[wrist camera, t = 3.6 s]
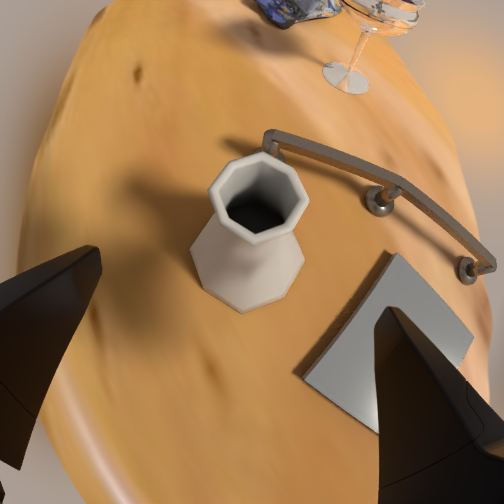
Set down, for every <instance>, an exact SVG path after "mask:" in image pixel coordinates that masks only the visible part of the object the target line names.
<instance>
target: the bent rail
mask: <svg viewBox="0 0 504 504" xmlns="http://www.w3.org/2000/svg"><path fill="white" fill-rule="evenodd" d="M280 148H281V149H284V150H287V151H290V152H293V153H296V154H299V155H303V156H306V157H309V158H311V159H314V160H317V161H320V162H323V163H326V164H329V165H331V166H334V167H337V168H340V169H342V170H345V171H348V172H350V173H353V174H355V175H358V176H360V177H363V178H365V179H368V180H370V181H373V182H375V183H377V184H380V185H382V186H384V187H382V186H373V187H372V188H370V189H369V190H368V191H367V193H366V195H365V204H366V206H367V208H368V210H369V211H370V212H371V213H372V214H373V215H375V216H378V217H384V216H387V215H388V214H389V213H391V212H392V210H393V208H394V200H395V199H396V198H397V197H398V196H400V195H401V196H403V197H404V198H405V199H407V200H408V201H409V202H411V203H412V204H413V205H415V206H416V207H417V208H418V209H420V210H421V211H422V212H424V213H425V214H426V215H427V216H429V217H430V218H431V219H432V220H433V221H435V222H436V223H437V224H438V225H440V226H441V227H442V228H443V229H444V230H445V231H447V232H448V233H449V234H450V235H451V236H452V237H454V238H455V239H456V240H457V241H458V242H459V243H460V244H461V245H463V246H464V247H465V248H466V249H467V250H468V251H469V252H470V253H471V254H472V255H473V256H474V257H475V258H476V259H478V260H479V261H476V262H475V261H474V260H473V259H472V258H470V257H466V258H463V259H461V260H460V262H459V264H458V276H459V279H460V281H461V282H462V283H463V284H464V285H471V284H473V283H474V282H475V281H476V279H477V276H479V275H483V274H487V273H491V272H495V271H496V268H497V263H496V259H495V258H494V256H493V255H491V254H490V252H489V251H488V250H487V249H486V248H484V246H483V245H482V244H481V243H480V242H479V241H478V240H477V239H476V238H475V237H474V236H473V235H472V234H470V233H469V232H468V231H467V230H466V229H465V228H464V227H463V226H462V225H461V224H460V223H459V222H457V221H456V220H455V219H454V218H453V217H452V216H451V215H450V214H448V213H447V212H446V211H445V210H444V209H443V208H441V207H440V206H439V205H438V204H437V203H435V202H434V201H433V200H432V199H431V198H429V197H428V196H427V195H426V194H424V193H423V192H422V191H420V190H419V189H418V188H417V187H415V186H414V185H413V184H411V183H410V182H409V181H407V180H406V179H405V178H402V177H401V176H399V175H397V174H395V173H393V172H390V171H388V170H386V169H384V168H381V167H379V166H377V165H374V164H372V163H370V162H367V161H365V160H362V159H360V158H357V157H355V156H352V155H350V154H347V153H344V152H342V151H339V150H336V149H334V148H331V147H328V146H325V145H323V144H320V143H317V142H314V141H311V140H308V139H305V138H302V137H299V136H296V135H293V134H289V133H286V132H283V131H279V130H276V129H270V130H267V131H266V132H265V133H264V136H263V143H262V147H261V148H258V149H257V150H256V151H255V152H254V153H253V154H255V153H259V152H262V151H264V152H265V153H267V154H269V155H271V156H273V157H274V158H276V159H278V160H280V161H282V162H283V163H285V160H284V156H283V154H282V153H281V152H280V151H279V150H280Z"/></svg>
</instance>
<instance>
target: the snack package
mask: <svg viewBox="0 0 504 504" xmlns="http://www.w3.org/2000/svg"><path fill="white" fill-rule="evenodd" d="M254 1H256V2H257V3H258V4H259V5H260V6H261V8H262V9H263V11H264V12H265V14H266V16H267V17H268V20H269V21H271V22H272V23H274V24H276V25H278V26H279V27H280V28H282V29H287V28H289V27H290V26H293V24H295V23H297V22H302V21H305V20H309V19H312V18H320V17H332V16H324V15H322V14H321V15H318V14H319V13H323V12H329V13H330V12H331V13H334V15H333V16H335V15H337V14H339V13H340V12H341V11H342V10H341V7H340V6H338V5H337V4H336V3H335V0H254ZM291 11H293V13H292V12H291ZM335 11H337V12H336V13H335ZM269 17H270V18H269Z"/></svg>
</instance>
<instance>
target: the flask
mask: <svg viewBox="0 0 504 504" xmlns="http://www.w3.org/2000/svg"><path fill="white" fill-rule="evenodd" d="M208 194H209V197H210V199H211V202H212V205H213V208H214V210H215V213H214V214H213V216H212V217H211V219H210V220H209V221H208V223H207V224H206V226H205V227H204V229H203V230H202V231H201V233H200V234H199V236H198V237H197V239H196V240H195V242H194V243H193V245H192V246H191V248H190V252H191V255H192V258H193V261H194V264H195V267H196V269H197V272H198V275H199V278H200V281H201V283H202V286H203V289H204V291H206V292H208V293H209V294H211V295H212V296H214V297H215V298H217V299H218V300H220V301H222V302H223V303H225V304H226V305H228V306H229V307H231V308H233V309H234V310H236V311H237V312H239V313H241V314H244V313H247V312H249V311H252V310H255V309H257V308H260V307H262V306H265V305H267V304H270V303H272V302H275V301H277V300H280V299H282V298H284V297H285V295H286V293H287V292H288V290H289V288H290V286H291V285H292V283H293V281H294V280H295V278H296V276H297V275H298V273H299V271H300V269H301V268H302V266H303V264H304V263H305V259H304V256H303V254H302V251H301V249H300V247H299V244H298V242H297V240H296V237H295V235H294V233H293V228H294V227H295V225H296V223H297V222H298V220H299V218H300V217H301V215H302V213H303V212H304V210H305V208H306V207H307V205H308V203H309V201H310V200H309V198H308V196H307V193H306V191H305V189H304V187H303V185H302V183H301V181H300V179H299V177H298V175H297V173H296V171H295V169H294V168H292V167H290V166H289V165H287V164H285V163H283V162H282V161H280V160H278V159H276V158H274V157H273V156H271V155H269V154H267V153H265V152H264V151H262V152H259V153H255V154H252V155H248V156H245V157H242V158H239V159H235V160H232V161H229V162H228V163H227V165H226V166H225V167H224V168H223V170H222V171H221V172H220V174H219V175H218V176H217V178H216V179H215V180H214V182H213V183H212V184H211V186H210V187H209V188H208Z"/></svg>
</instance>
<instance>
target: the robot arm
mask: <svg viewBox="0 0 504 504" xmlns="http://www.w3.org/2000/svg"><path fill="white" fill-rule="evenodd" d="M101 275H102V263H101V256H100V251H99V248H98V247H96V246H92V245H85V246H82V247H80V248H77V249H75V250H73V251H70V252H68V253H65V254H63V255H61V256H58V257H56V258H54V259H52V260H49V261H47V262H45V263H43V264H40V265H38V266H36V267H34V268H32V269H29V270H27V271H25V272H23V273H21V274H19V275H17V276H15V277H13V278H11V279H8V280H7V281H4V282H2V283H1V284H0V460H1V461H3V462H4V463H6V464H8V465H10V466H11V467H13V468H15V469H17V470H20V469H21V466H22V463H23V459H24V456H25V452H26V449H27V446H28V443H29V440H30V437H31V433H32V431H33V428H34V425H35V422H36V419H37V416H38V414H39V411H40V408H41V406H42V403H43V401H44V398H45V396H46V393H47V391H48V389H49V386H50V384H51V382H52V379H53V377H54V375H55V372H56V370H57V368H58V366H59V364H60V361H61V359H62V357H63V355H64V353H65V351H66V349H67V347H68V345H69V343H70V341H71V339H72V337H73V335H74V333H75V331H76V329H77V327H78V325H79V323H80V321H81V320H82V318H83V316H84V314H85V311H86V309H87V307H88V305H89V302H90V300H91V297H92V295H93V293H94V291H95V288H96V286H97V284H98V282H99V279H100V277H101ZM374 373H375V385H376V397H377V411H378V430H379V491H378V504H504V421H503V420H502V419H501V418H500V417H499V415H498V414H497V413H496V412H495V411H494V410H493V409H492V408H491V407H490V406H489V405H488V404H487V403H486V402H485V400H484V399H483V398H482V397H481V396H480V395H479V394H478V393H477V391H476V390H475V389H474V388H473V387H472V386H471V385H470V383H469V382H468V381H466V379H465V378H464V376H463V375H462V374H461V373H460V372H459V371H458V370H457V369H456V367H455V366H454V365H453V364H452V363H451V362H450V361H449V360H448V359H447V357H446V356H445V355H444V354H443V353H442V352H441V351H440V350H439V349H438V348H437V347H436V345H435V344H434V343H433V342H432V341H431V340H430V339H429V338H428V337H427V336H426V335H425V334H424V333H423V332H422V331H421V330H420V329H419V328H418V326H417V325H416V324H415V323H414V322H413V321H412V320H411V319H410V318H409V317H408V316H407V315H406V314H405V313H404V312H403V311H402V310H401V309H400V308H398V307H394V306H387V307H386V308H385V309H384V310H383V312H382V314H381V315H380V317H379V319H378V320H377V322H376V324H375V326H374ZM4 496H5V492H4V490H3V487H2V484H1V481H0V504H2V502H3V499H4Z"/></svg>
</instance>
